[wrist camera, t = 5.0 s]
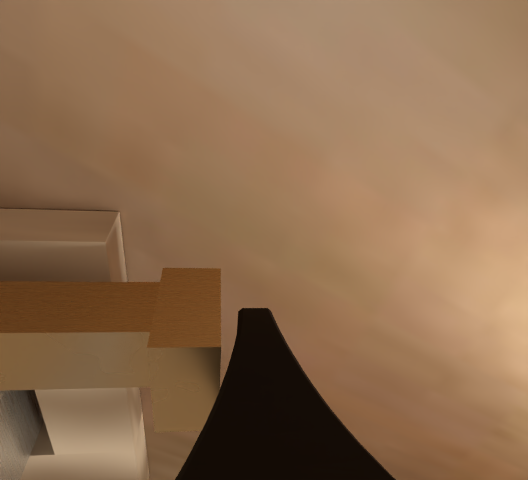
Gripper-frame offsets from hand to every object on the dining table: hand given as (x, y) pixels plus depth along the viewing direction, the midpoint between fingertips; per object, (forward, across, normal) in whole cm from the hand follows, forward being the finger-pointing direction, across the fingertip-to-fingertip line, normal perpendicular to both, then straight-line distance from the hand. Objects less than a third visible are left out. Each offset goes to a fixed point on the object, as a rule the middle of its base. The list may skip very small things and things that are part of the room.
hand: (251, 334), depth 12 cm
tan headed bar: (+1, +6, 0) cm, 6 cm away
